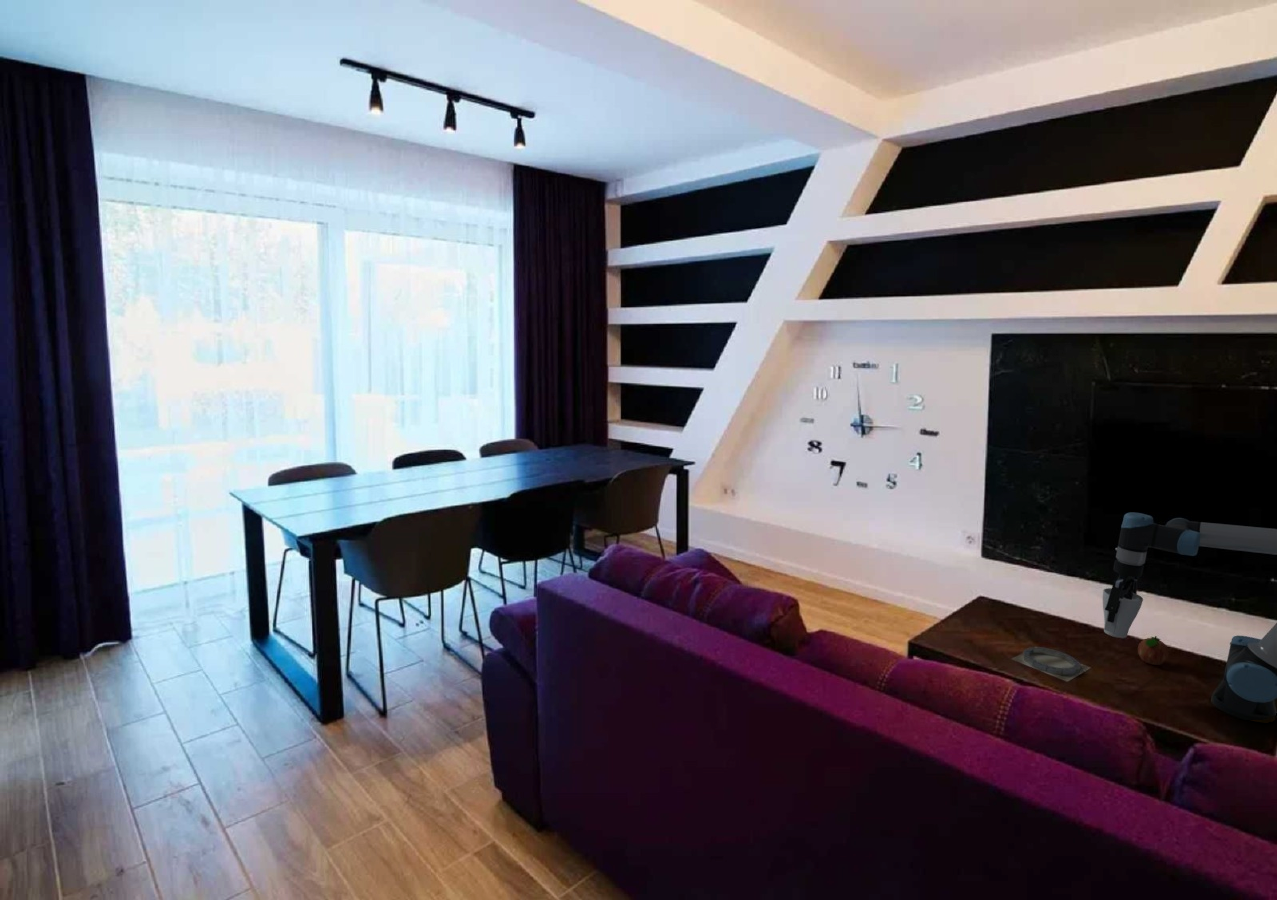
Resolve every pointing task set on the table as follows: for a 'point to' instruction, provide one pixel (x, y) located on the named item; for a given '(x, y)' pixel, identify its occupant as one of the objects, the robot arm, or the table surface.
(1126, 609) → the cup
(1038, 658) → the board
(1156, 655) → the fruit
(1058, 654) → the ring collar
